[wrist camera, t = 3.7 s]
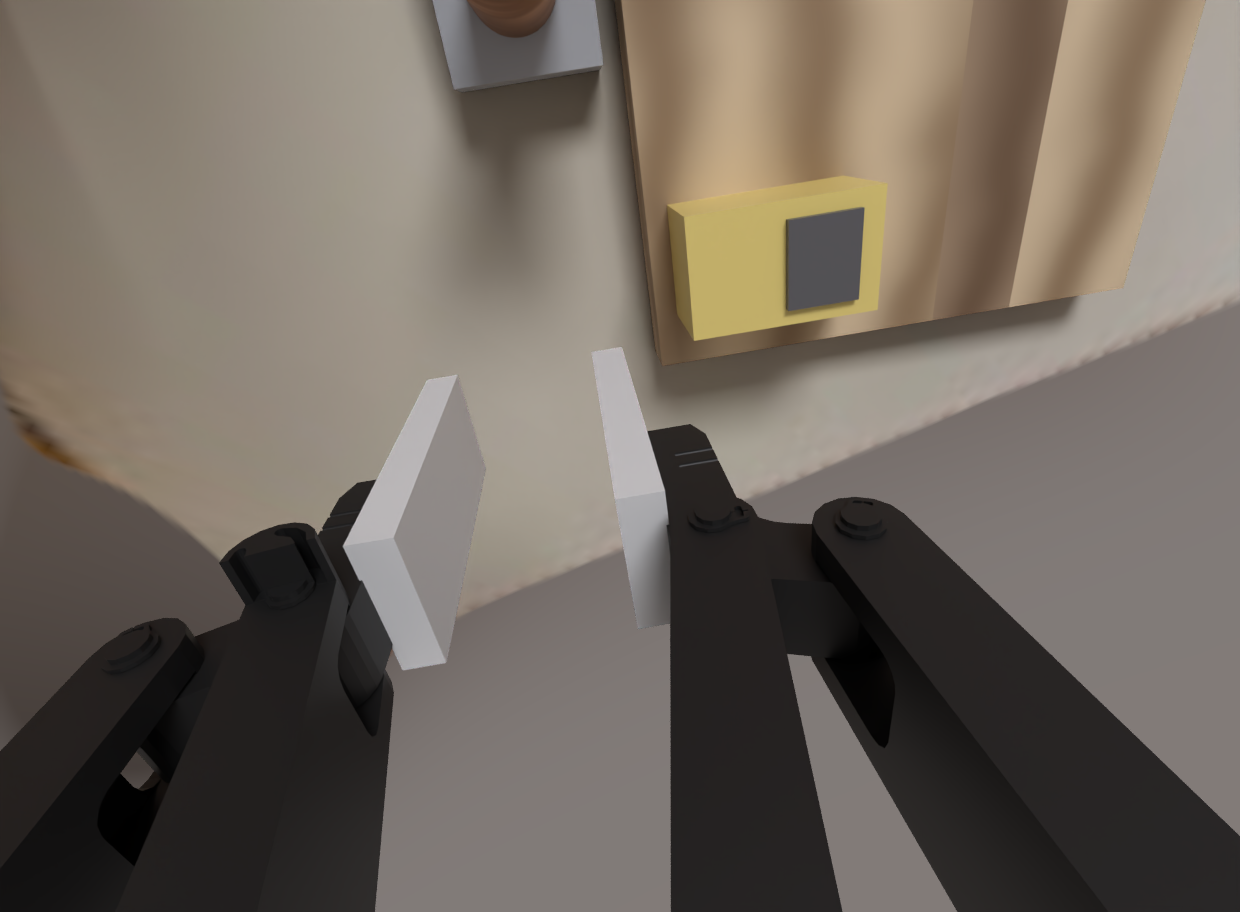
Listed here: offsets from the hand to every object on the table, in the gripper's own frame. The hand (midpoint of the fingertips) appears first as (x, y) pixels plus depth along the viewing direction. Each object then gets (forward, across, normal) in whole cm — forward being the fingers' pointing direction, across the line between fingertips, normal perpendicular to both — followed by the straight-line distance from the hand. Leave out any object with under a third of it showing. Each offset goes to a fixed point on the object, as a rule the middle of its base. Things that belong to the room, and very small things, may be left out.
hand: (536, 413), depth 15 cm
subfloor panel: (+17, +17, +4) cm, 24 cm away
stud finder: (+14, +10, 0) cm, 17 cm away
